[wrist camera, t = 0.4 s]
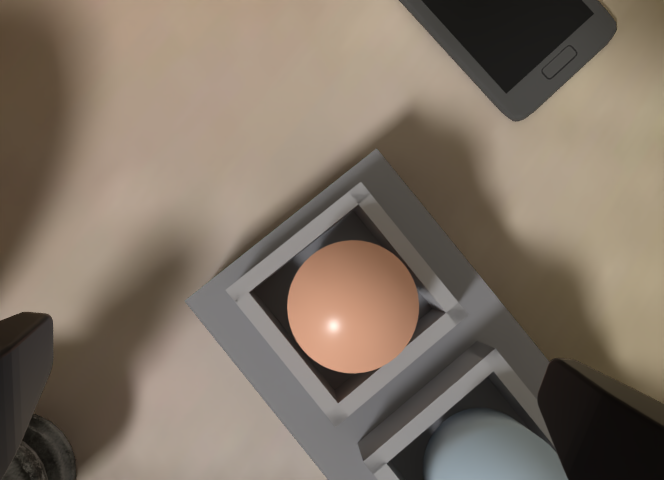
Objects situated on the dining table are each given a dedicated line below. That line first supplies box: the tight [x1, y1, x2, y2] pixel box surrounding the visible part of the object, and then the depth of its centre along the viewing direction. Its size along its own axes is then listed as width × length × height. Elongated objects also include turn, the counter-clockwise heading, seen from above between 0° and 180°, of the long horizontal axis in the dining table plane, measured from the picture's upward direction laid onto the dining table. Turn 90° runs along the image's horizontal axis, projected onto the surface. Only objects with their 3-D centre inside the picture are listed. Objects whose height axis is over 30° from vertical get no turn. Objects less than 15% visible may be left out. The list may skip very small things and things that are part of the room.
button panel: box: [185, 148, 557, 480], centre depth 22 cm, size 24×10×5 cm, turn 39°
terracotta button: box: [287, 240, 419, 373], centre depth 18 cm, size 4×4×2 cm
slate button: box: [423, 408, 568, 480], centre depth 18 cm, size 4×4×2 cm
